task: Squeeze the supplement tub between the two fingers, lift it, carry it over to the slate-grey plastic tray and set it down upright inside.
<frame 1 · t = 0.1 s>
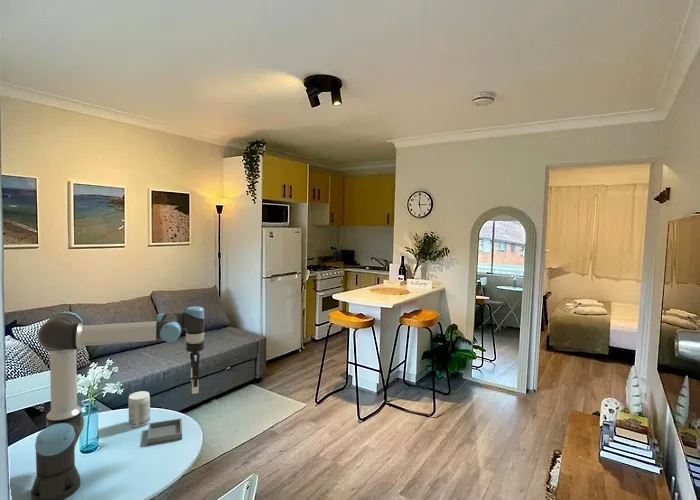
hand: (194, 386, 180), 28 cm above the table, fingers open, 13 cm apart
supplement tub: (139, 423, 200), on the table
tray: (165, 434, 191), on the table
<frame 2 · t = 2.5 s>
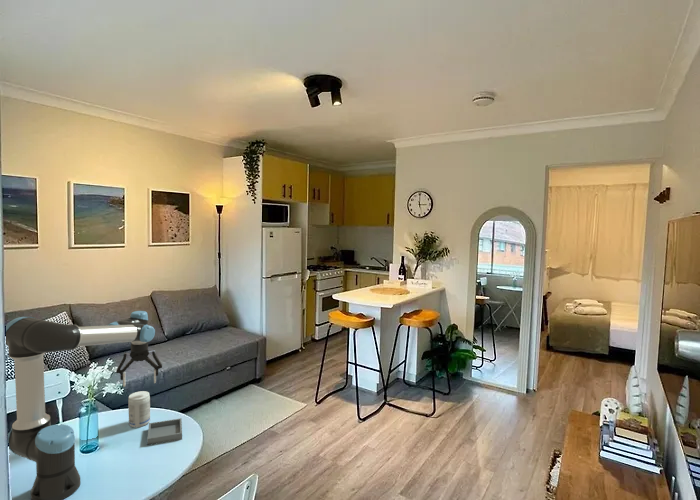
hand: (139, 383, 198), 20 cm above the table, fingers open, 13 cm apart
nothing on the table moved.
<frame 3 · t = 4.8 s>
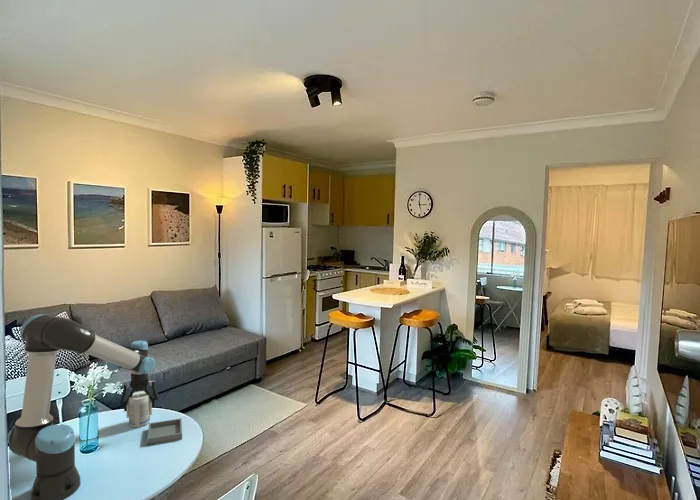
hand: (139, 415, 199), 4 cm above the table, fingers closed on supplement tub, 10 cm apart
supplement tub: (139, 423, 200), on the table, touching gripper
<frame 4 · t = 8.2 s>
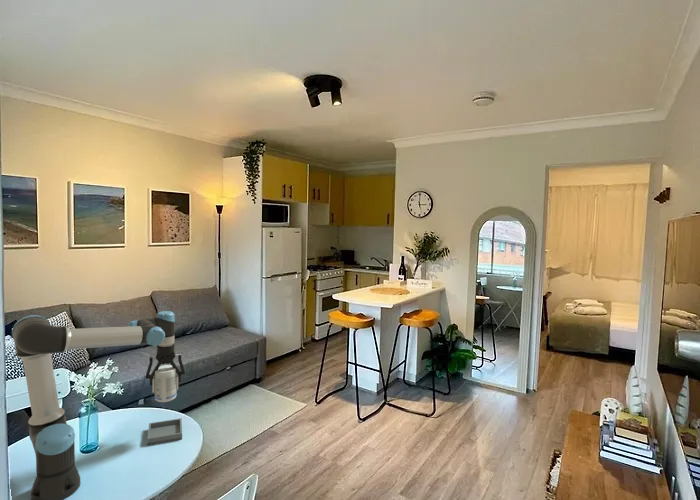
hand: (165, 390, 189), 22 cm above the table, fingers closed on supplement tub, 10 cm apart
supplement tub: (165, 398, 190), point 18 cm above the table, touching gripper
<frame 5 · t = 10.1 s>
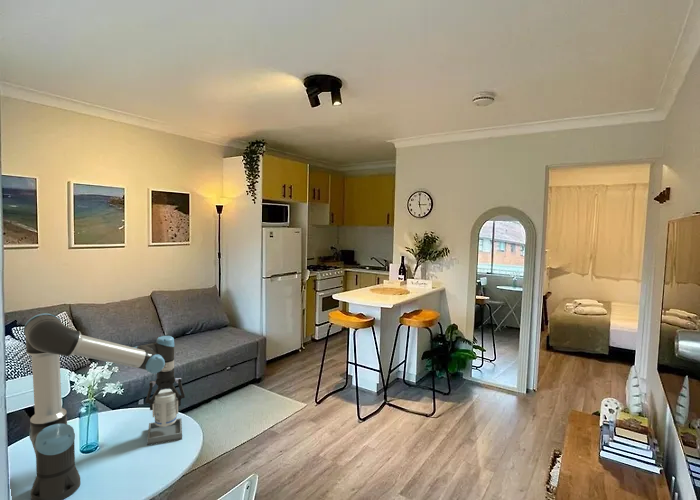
hand: (165, 414, 190), 10 cm above the table, fingers closed on supplement tub, 10 cm apart
supplement tub: (165, 422, 191), point 6 cm above the table, touching gripper
when the fingers open (7 cm above the table, at t = 11.8 s): supplement tub drops 2 cm, resting on tray.
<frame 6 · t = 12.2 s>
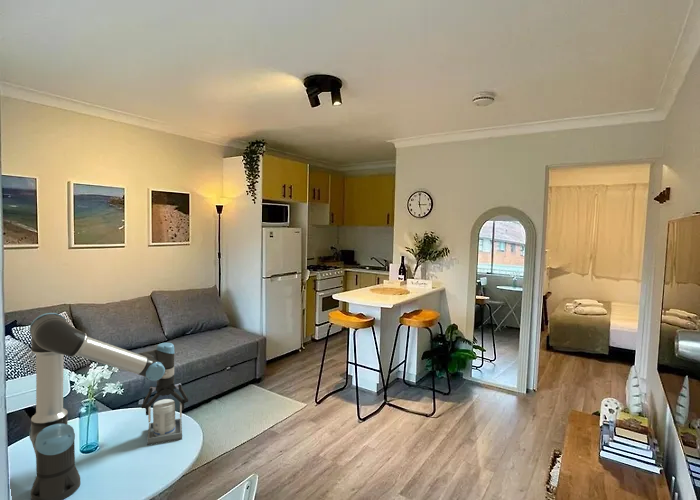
hand: (165, 418, 190), 8 cm above the table, fingers open, 13 cm apart
supplement tub: (164, 433, 191), point 1 cm above the table, touching tray
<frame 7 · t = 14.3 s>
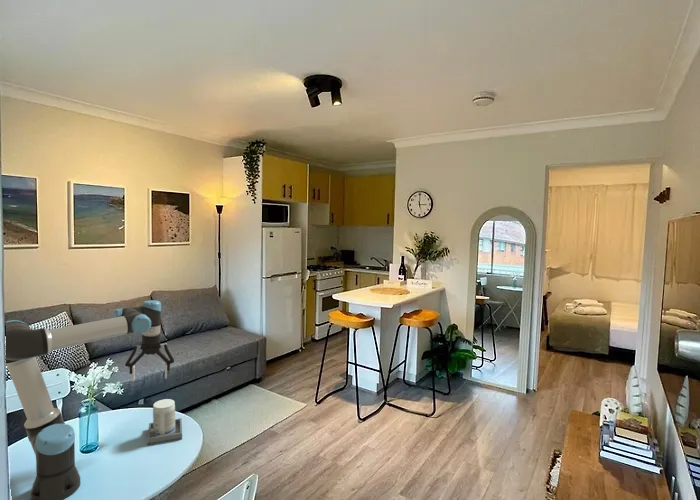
hand: (149, 379, 185), 29 cm above the table, fingers open, 13 cm apart
nothing on the table moved.
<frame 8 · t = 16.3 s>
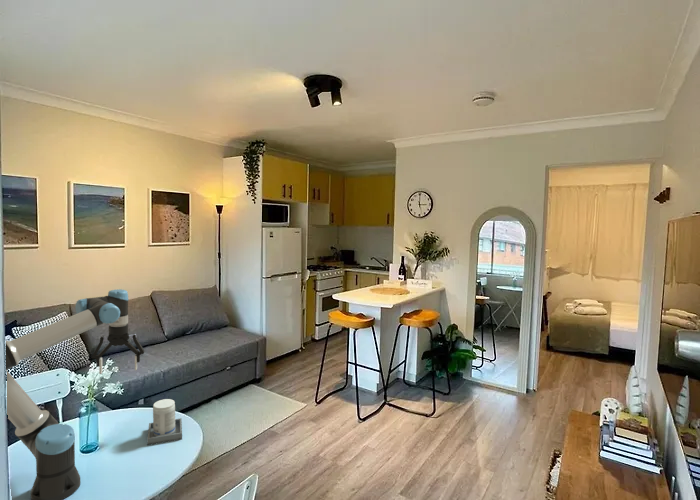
hand: (118, 371, 178), 35 cm above the table, fingers open, 13 cm apart
nothing on the table moved.
at the end: supplement tub inside the target area on the tray (0.4 cm from its centre), point 0.6 cm above the tray's base; supplement tub tilted 0°; the gripper is holding nothing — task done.
